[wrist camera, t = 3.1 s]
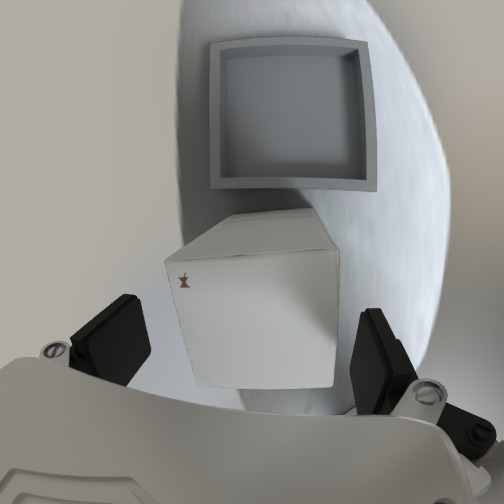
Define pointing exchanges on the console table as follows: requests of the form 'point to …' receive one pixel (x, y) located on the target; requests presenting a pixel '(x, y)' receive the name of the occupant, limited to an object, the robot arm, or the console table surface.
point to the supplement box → (259, 301)
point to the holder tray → (292, 114)
